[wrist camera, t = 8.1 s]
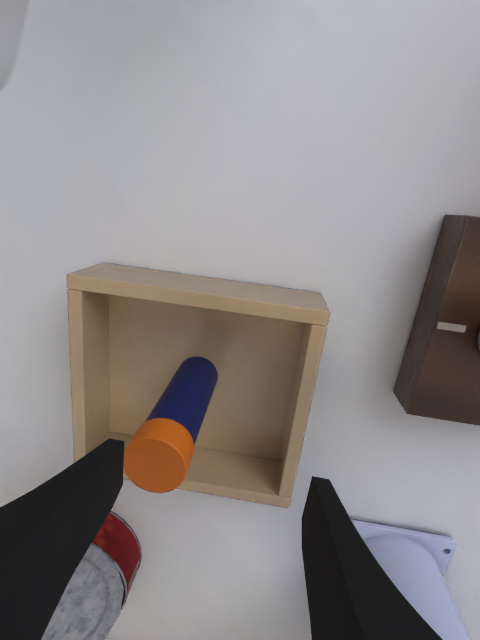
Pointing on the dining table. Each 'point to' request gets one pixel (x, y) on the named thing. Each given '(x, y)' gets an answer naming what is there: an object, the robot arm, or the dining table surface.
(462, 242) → the block
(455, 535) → the dining table surface
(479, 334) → the grey dial knob
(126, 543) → the canned food
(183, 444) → the marker
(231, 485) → the open wooden box
